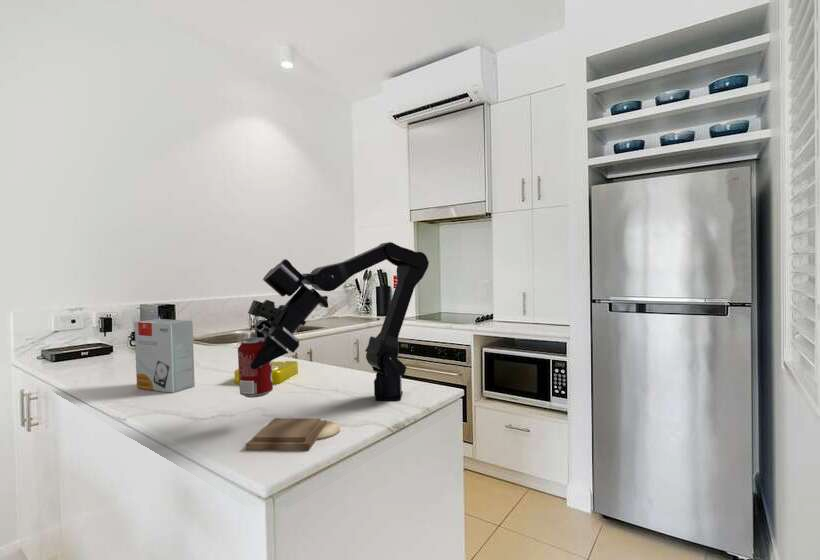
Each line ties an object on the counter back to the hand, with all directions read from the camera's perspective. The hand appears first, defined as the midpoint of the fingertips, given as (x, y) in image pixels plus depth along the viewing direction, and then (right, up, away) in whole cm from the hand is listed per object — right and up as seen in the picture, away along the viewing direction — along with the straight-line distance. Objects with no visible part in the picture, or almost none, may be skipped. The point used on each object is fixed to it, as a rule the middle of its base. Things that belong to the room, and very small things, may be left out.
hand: (248, 365), depth 90 cm
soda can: (+1, -7, +1) cm, 7 cm away
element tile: (-10, -13, +41) cm, 44 cm away
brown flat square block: (+11, -13, -7) cm, 18 cm away
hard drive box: (-37, -14, +33) cm, 52 cm away
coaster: (+16, -13, -4) cm, 21 cm away
